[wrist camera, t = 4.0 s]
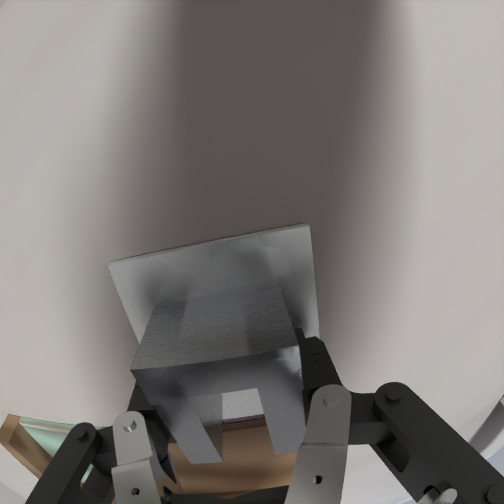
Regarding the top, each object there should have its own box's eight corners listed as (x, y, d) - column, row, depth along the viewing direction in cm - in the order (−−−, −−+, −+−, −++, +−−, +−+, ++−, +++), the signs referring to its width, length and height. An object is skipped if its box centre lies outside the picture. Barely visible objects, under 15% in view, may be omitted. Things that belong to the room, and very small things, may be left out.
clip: (155, 303, 12) (130, 369, 8) (277, 281, 12) (299, 345, 8) (196, 399, 14) (191, 463, 10) (292, 384, 14) (309, 448, 10)
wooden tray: (8, 414, 15) (-5, 438, 12) (337, 402, 15) (352, 441, 12) (78, 483, 19) (73, 504, 17) (332, 476, 20) (340, 503, 17)
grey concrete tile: (110, 261, 11) (107, 265, 11) (307, 222, 11) (309, 225, 11) (182, 418, 15) (181, 423, 14) (320, 396, 15) (322, 401, 14)
